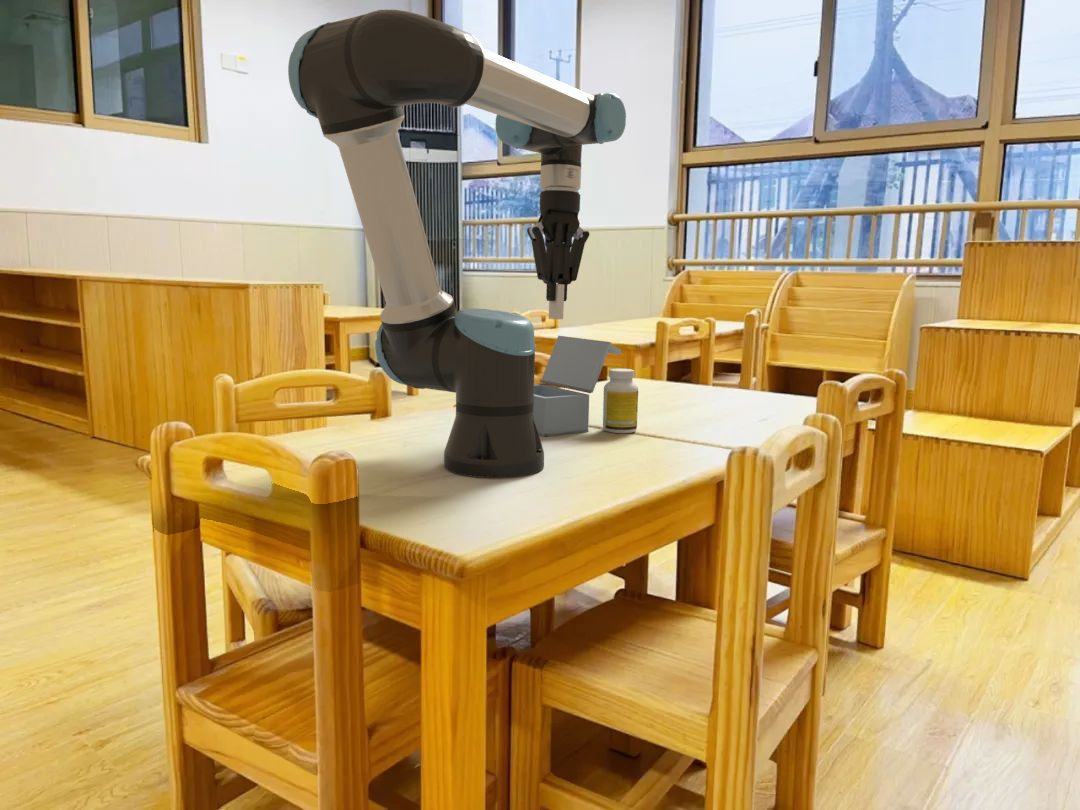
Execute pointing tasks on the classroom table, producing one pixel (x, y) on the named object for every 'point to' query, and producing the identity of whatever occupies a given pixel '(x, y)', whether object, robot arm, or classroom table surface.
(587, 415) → the box
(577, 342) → the lid
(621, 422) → the pill bottle
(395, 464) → the classroom table surface
